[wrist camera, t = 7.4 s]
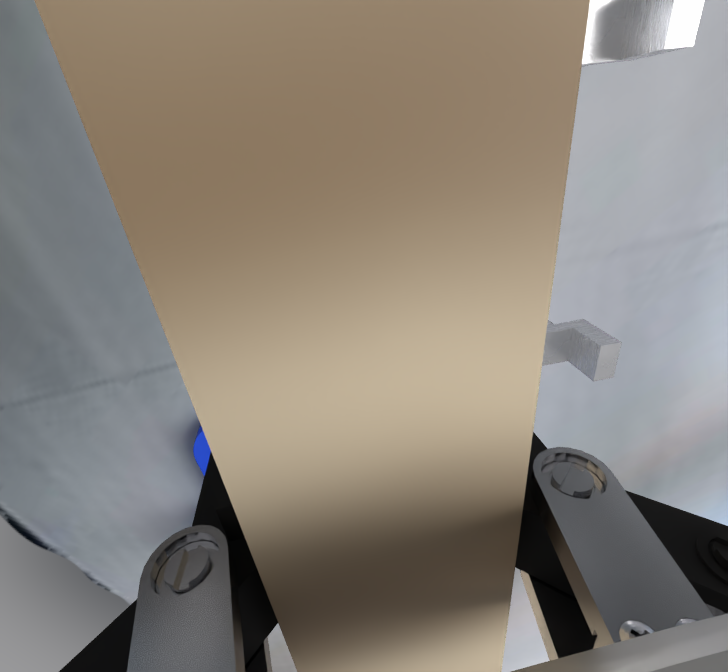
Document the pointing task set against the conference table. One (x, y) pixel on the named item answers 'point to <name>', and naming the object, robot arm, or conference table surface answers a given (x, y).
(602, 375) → the rail stand
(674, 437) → the conference table surface
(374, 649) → the rail
